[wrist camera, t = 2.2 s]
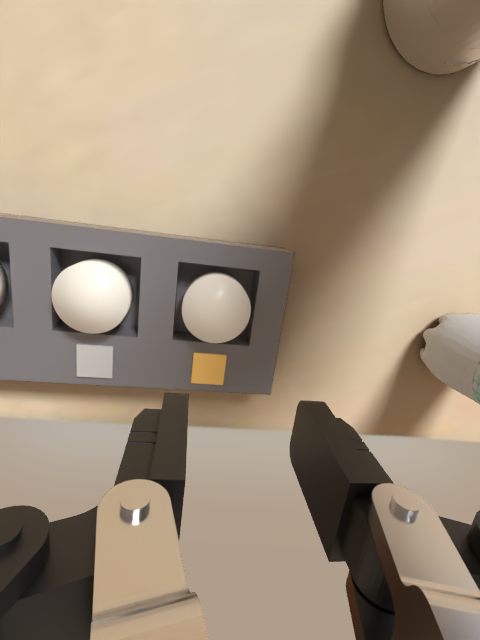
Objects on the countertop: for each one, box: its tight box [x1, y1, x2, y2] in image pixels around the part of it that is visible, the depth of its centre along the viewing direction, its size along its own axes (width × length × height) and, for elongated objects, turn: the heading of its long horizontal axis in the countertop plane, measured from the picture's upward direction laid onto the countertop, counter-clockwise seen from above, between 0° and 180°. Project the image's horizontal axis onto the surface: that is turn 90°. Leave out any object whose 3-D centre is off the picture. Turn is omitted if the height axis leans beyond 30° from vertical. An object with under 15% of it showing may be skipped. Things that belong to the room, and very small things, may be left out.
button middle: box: [52, 259, 134, 334], centre depth 23 cm, size 5×5×2 cm
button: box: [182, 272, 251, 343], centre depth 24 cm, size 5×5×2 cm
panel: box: [0, 213, 295, 395], centre depth 25 cm, size 26×11×3 cm, turn 83°
